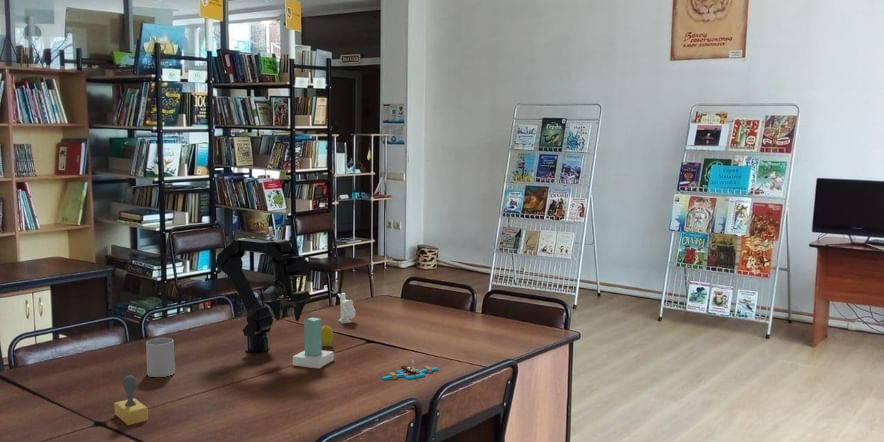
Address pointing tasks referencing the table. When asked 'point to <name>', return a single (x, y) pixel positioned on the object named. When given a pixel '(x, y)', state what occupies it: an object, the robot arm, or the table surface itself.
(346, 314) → the white upright figurine
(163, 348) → the mug
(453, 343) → the table surface
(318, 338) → the pillar
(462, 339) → the table surface
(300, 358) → the plinth
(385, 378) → the gear mechanism
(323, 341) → the lemon
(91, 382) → the table surface
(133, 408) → the rubber stamp
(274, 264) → the robot arm
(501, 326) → the table surface
